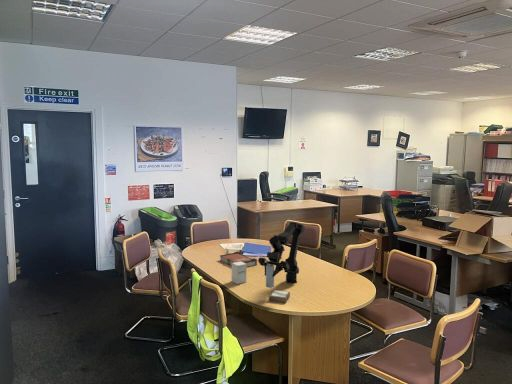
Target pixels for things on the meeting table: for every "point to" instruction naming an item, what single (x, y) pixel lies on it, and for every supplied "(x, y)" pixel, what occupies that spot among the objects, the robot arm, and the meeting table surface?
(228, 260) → the book
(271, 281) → the slate pillar
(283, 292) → the foundation block
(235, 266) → the supplement box
